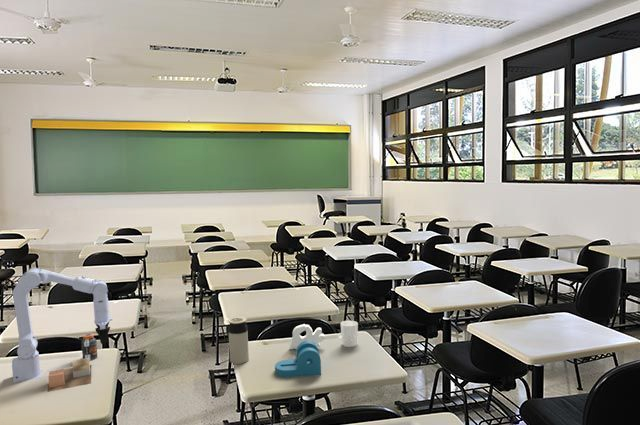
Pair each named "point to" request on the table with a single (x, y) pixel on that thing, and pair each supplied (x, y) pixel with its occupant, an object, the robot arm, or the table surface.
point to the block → (56, 378)
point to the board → (72, 380)
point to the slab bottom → (81, 373)
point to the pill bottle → (89, 347)
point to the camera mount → (301, 362)
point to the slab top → (80, 364)
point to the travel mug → (238, 340)
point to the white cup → (349, 333)
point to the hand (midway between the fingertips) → (103, 340)
